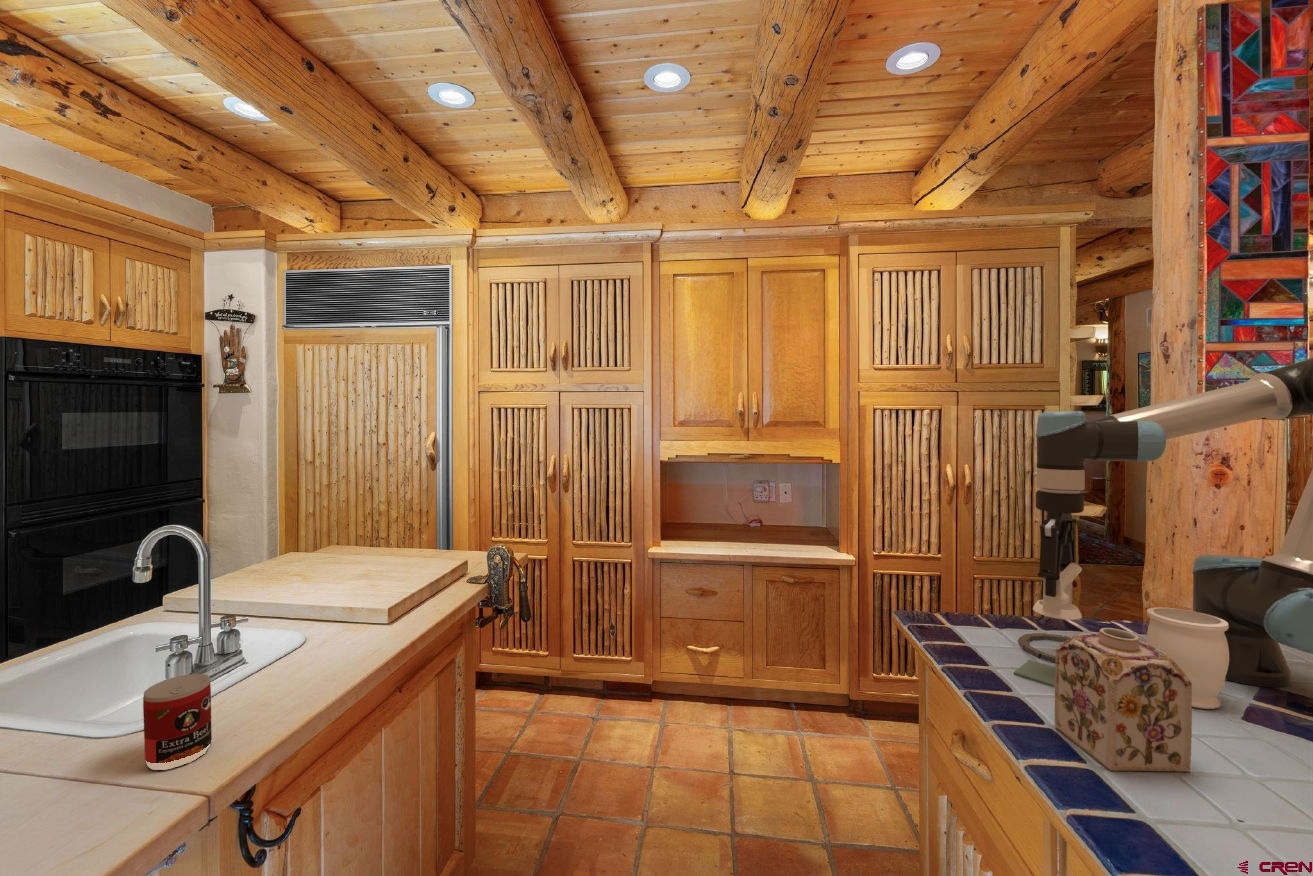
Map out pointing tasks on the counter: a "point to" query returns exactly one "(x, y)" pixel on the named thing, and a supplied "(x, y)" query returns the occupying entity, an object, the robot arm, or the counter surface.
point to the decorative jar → (1124, 702)
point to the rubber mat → (1037, 672)
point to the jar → (1193, 649)
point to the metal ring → (1027, 638)
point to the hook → (1063, 596)
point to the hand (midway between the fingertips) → (1057, 608)
